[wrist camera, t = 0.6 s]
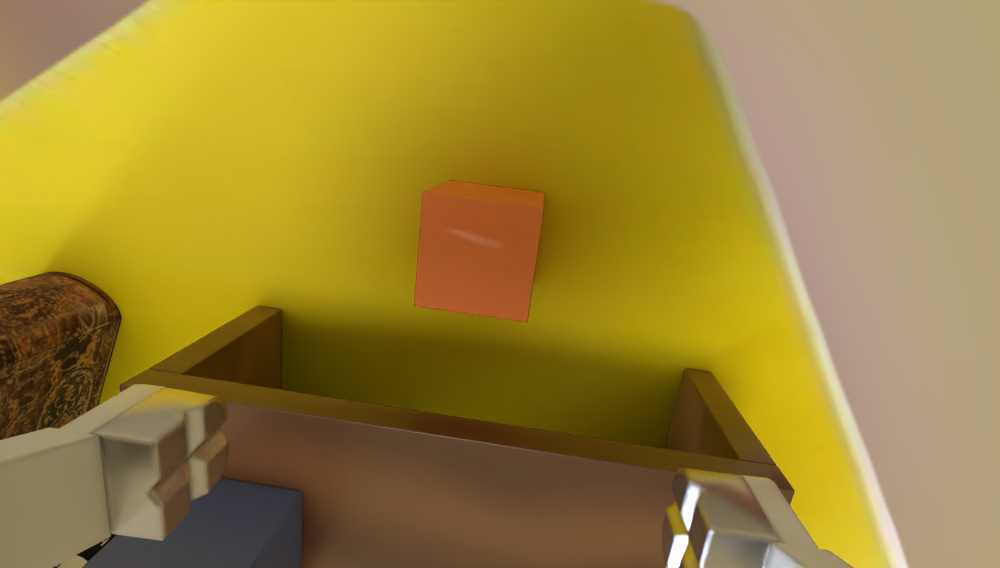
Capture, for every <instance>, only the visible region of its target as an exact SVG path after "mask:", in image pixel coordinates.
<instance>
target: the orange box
mask: <svg viewBox="0 0 1000 568" xmlns="http://www.w3.org/2000/svg"><path fill="white" fill-rule="evenodd" d="M543 211H544V192H537V191H529V190H521V189H513V188H506V187H498V186H490V185H483V184H475V183H467V182H460V181H452V180H449V181H447V182H445V183H442V184H440V185H438V186H436V187H433V188H431V189H429V190H426V191H424V192H423V195H422V209H421V222H420V235H419V248H418V261H417V274H416V287H415V300H414V306H417V307H424V308H431V309H437V310H444V311H451V312H458V313H465V314H472V315H479V316H486V317H493V318H500V319H507V320H514V321H521V322H527V321H528V315H529V308H530V301H531V294H532V287H533V280H534V273H535V266H536V260H537V253H538V246H539V239H540V232H541V225H542V218H543Z"/></svg>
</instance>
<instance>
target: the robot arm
mask: <svg viewBox="0 0 1000 568" xmlns="http://www.w3.org/2000/svg"><path fill="white" fill-rule="evenodd" d="M226 420H227V407H226V402H225V401H224V400H223V399H222V398H221V397H219V396H213V395H207V394H202V393H196V392H190V391H184V390H179V389H173V388H166V387H162V386H155V385H147V384H134V385H132V386H130V387H129V388H127V389H125V390H124V391H122V392H120V393H119V394H117V395H115V396H114V397H112V398H110V399H108V400H107V401H105V402H103V403H102V404H100V405H98V406H97V407H95V408H93V409H91V410H90V411H88V412H86V413H85V414H83V415H81V416H80V417H78V418H76V419H75V420H73V421H71V422H69V423H68V424H66V425H64V426H63V427H61V428H59V429H57V428H46V429H42V430H38V431H34V432H30V433H26V434H22V435H19V436H15V437H11V438H7V439H3V440H0V568H52V567H54V566H56V565H58V564H60V563H62V562H64V561H66V560H67V559H69V558H71V557H73V556H75V555H77V554H79V553H81V552H83V551H84V550H86V549H88V548H90V547H92V546H94V545H96V544H98V543H99V542H101V541H103V540H105V539H107V538H109V537H110V536H111V534H116V535H123V536H131V537H138V538H145V539H153V540H160V541H163V540H164V539H165V538H166V537H167V536H168V535H169V534H170V533H171V532H172V531H173V530H174V528H175V527H176V526H177V525H178V524H179V523H180V522H181V521H182V520H183V519H184V518H185V517H186V516H187V515H188V514H189V513H190V512H191V506H190V501H192V500H195V499H197V498H199V497H201V496H204V495H206V494H208V493H209V492H210V491H211V490H212V488H213V487H214V486H215V485H216V484H217V483H218V482H219V480H220V478H221V476H222V474H223V471H224V469H225V467H226V464H227V459H228V454H229V445H228V440H227V438H226V437H225V435H224V434H223V432H222V431H221V430H220V428H221V426H222V425H223V424H224V423H225V422H226ZM671 488H672V491H673V494H674V497H675V500H676V502H674V503H673V504H672V505H671V506H669V507H668V508H667V509H666V512H665V516H664V521H663V526H662V549H663V556H664V560H665V564H666V568H853V567H852V566H850V565H849V564H848V563H846V562H845V561H843V560H842V559H840V558H839V557H838V556H836V555H835V554H833V553H832V552H830V551H828V550H822V549H819V548H818V547H817V545H816V544H815V542H814V541H813V539H812V538H811V536H810V535H809V533H808V532H807V530H806V529H805V527H804V526H803V524H802V523H801V521H800V520H799V518H798V517H797V515H796V514H795V512H794V511H793V509H792V508H791V506H790V505H789V503H788V502H787V500H786V499H785V497H784V496H783V494H782V493H781V491H780V490H779V488H778V487H777V485H776V484H775V482H773V481H772V480H770V479H769V478H762V477H754V476H745V475H734V474H726V473H719V472H711V471H703V470H695V469H688V468H680V467H679V468H678V470H677V472H676V473H675V476H674V479H673V483H672V487H671Z"/></svg>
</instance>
